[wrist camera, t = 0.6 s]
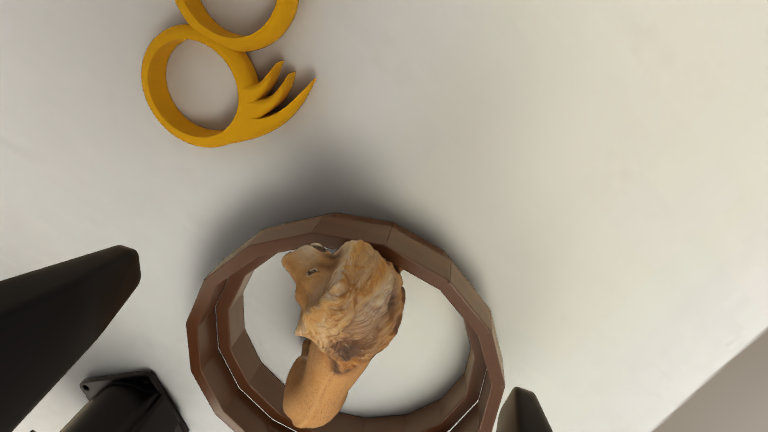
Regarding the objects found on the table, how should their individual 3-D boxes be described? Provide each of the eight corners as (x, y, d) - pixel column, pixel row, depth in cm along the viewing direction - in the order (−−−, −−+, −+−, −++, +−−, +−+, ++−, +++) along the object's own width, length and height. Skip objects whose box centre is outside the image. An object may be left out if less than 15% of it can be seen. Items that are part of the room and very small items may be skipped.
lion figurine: (332, 170, 23) (259, 270, 15) (432, 198, 23) (410, 314, 15) (297, 367, 31) (236, 502, 23) (374, 390, 30) (338, 535, 22)
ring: (280, 440, 34) (258, 491, 30) (176, 235, 28) (133, 269, 24) (520, 422, 29) (528, 480, 26) (461, 172, 23) (460, 202, 20)
